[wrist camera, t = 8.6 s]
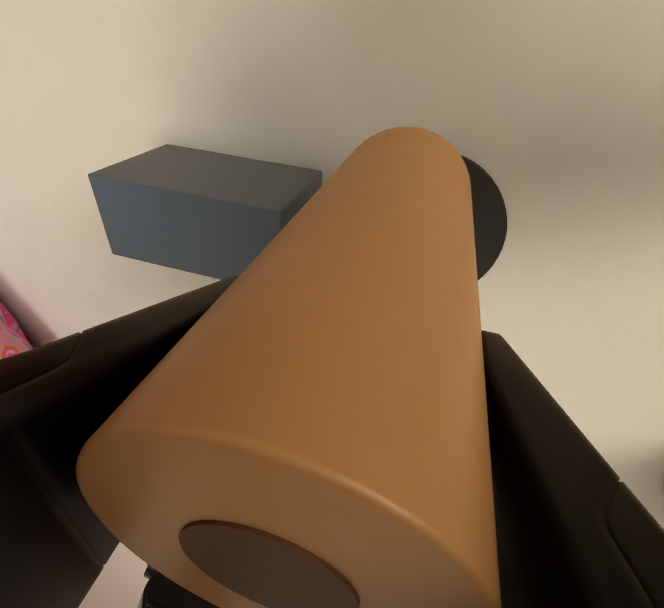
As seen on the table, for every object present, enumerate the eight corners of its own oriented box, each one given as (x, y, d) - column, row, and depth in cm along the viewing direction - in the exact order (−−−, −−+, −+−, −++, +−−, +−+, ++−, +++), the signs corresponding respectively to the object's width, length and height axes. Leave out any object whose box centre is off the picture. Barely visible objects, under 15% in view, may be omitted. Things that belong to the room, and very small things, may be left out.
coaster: (412, 316, 23) (411, 320, 22) (317, 221, 21) (315, 224, 20) (541, 239, 18) (542, 242, 18) (434, 107, 16) (434, 109, 16)
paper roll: (402, 491, 14) (516, 1242, 2) (279, 453, 15) (-168, 819, 3) (467, 187, 16) (745, -420, 4) (353, 168, 17) (272, -376, 5)
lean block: (318, 241, 21) (281, 294, 17) (178, 212, 23) (112, 254, 19) (322, 170, 19) (280, 211, 15) (166, 143, 21) (86, 173, 16)
